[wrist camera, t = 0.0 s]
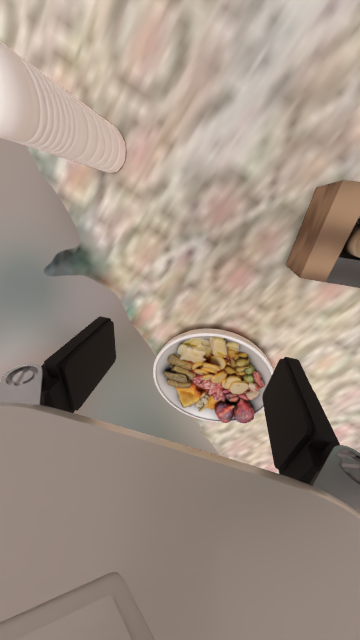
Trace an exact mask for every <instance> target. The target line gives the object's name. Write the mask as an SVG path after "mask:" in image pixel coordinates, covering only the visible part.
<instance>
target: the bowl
mask: <svg viewBox="0 0 360 640" xmlns="http://www.w3.org/2000/svg"><path fill="white" fill-rule="evenodd" d="M273 372H274V370H273V368H272V365H271V363H270V362H269V360H268V358H267V357H266V355H265V354H264V353H263V352H262V351H261V350H260V349H259V348H258V347H257V346H256V345H255V344H253V343H252V342H251V341H249V340H247V339H246V338H244V337H242V336H240V335H238V334H235V333H232V332H229V331H225V330H220V329H196V330H191V331H188V332H185V333H182V334H180V335H178V336H176V337H174V338H173V339H171V340H170V341H169V342H168V343H166V344H165V345H164V347H163V348H162V349H161V350H160V352H159V354H158V355H157V357H156V360H155V363H154V367H153V376H154V381H155V384H156V386H157V388H158V390H159V392H160V393H161V395H162V396H163V397H164V398H165V400H167V401H168V402H169V403H170V404H171V405H172V406H173V407H175V408H176V409H178V410H179V411H181V412H183V413H185V414H187V415H189V416H191V417H194V418H197V419H200V420H204V421H209V422H218V423H228V422H237V421H238V422H240V423H247V422H250V421H251V420H253V418H254V416H255V415H257V414H258V413H260V412H261V411H263V410H264V406H263V400H262V396H263V392H264V390H265V388H266V386H267V384H268V382H269V380H270V378H271V376H272V374H273Z"/></svg>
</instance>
